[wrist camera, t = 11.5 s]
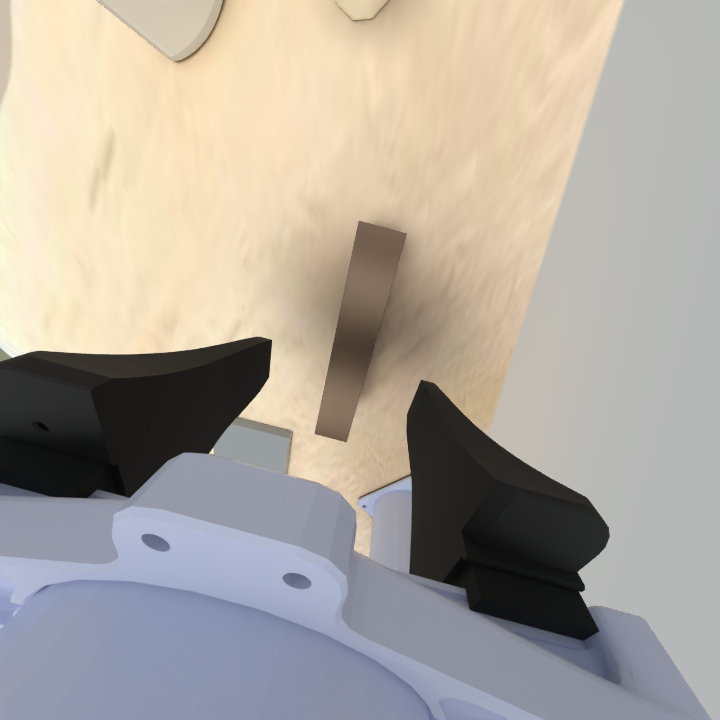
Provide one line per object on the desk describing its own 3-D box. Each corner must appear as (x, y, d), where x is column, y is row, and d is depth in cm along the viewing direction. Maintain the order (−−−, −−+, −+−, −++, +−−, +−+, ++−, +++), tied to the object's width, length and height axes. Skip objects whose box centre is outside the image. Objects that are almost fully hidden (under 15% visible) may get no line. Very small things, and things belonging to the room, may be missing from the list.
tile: (288, 438, 25) (282, 483, 29) (294, 427, 27) (288, 472, 30) (212, 418, 26) (214, 466, 29) (221, 409, 27) (223, 455, 30)
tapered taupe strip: (356, 396, 24) (346, 442, 18) (331, 390, 24) (314, 433, 18) (402, 235, 18) (406, 233, 12) (368, 226, 18) (358, 221, 12)
